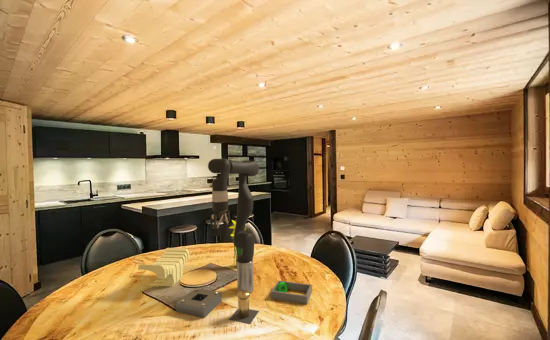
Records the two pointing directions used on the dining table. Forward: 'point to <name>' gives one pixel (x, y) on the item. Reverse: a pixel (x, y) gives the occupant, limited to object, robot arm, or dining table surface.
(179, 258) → the slatted curved stool
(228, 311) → the dining table surface
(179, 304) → the housing
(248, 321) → the mat
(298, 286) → the parts tray
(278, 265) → the dining table surface
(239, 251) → the daffodil flowers
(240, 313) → the brass capped cylinder
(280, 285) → the mechanical part
